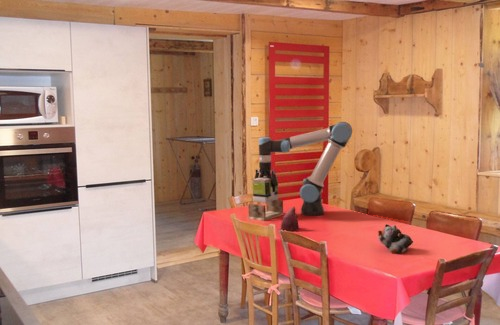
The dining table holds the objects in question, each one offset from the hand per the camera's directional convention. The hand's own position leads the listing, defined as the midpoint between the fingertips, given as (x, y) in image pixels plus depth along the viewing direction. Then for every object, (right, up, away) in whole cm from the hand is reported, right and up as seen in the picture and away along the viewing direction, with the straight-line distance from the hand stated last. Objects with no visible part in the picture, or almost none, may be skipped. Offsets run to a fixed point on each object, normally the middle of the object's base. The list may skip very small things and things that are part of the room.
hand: (265, 196), depth 348 cm
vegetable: (+13, -17, -33) cm, 39 cm away
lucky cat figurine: (+61, -22, -81) cm, 104 cm away
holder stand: (0, -13, +2) cm, 13 cm away
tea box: (0, -3, 0) cm, 3 cm away
